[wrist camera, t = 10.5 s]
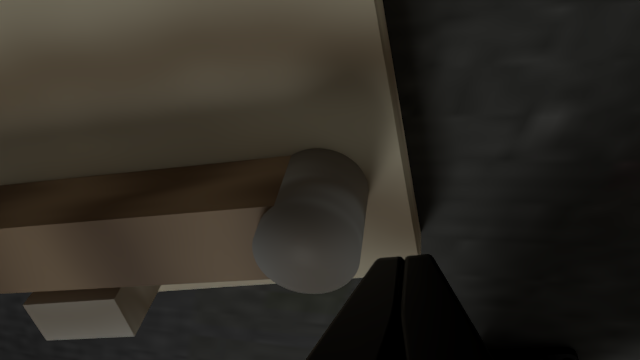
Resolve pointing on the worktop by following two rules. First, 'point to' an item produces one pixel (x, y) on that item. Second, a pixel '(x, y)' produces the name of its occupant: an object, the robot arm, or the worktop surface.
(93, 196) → the brown square bar
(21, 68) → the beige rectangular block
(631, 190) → the worktop surface
